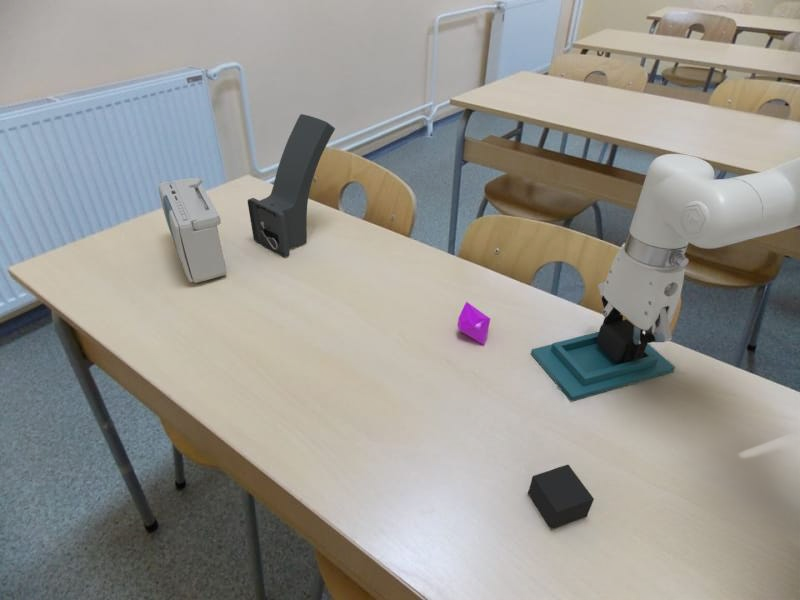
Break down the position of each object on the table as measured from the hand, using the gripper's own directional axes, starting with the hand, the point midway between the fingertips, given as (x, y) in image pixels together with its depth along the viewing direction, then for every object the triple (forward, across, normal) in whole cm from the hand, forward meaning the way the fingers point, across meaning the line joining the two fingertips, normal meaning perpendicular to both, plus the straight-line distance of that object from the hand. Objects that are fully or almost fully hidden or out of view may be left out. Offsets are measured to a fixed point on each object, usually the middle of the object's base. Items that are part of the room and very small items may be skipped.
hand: (619, 346), depth 81 cm
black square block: (+3, -19, +24) cm, 31 cm away
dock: (+3, 0, +3) cm, 4 cm away
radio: (+3, +53, +61) cm, 81 cm away
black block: (0, 0, 0) cm, 0 cm away
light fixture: (+3, +56, +40) cm, 69 cm away
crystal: (+3, +13, +19) cm, 23 cm away
